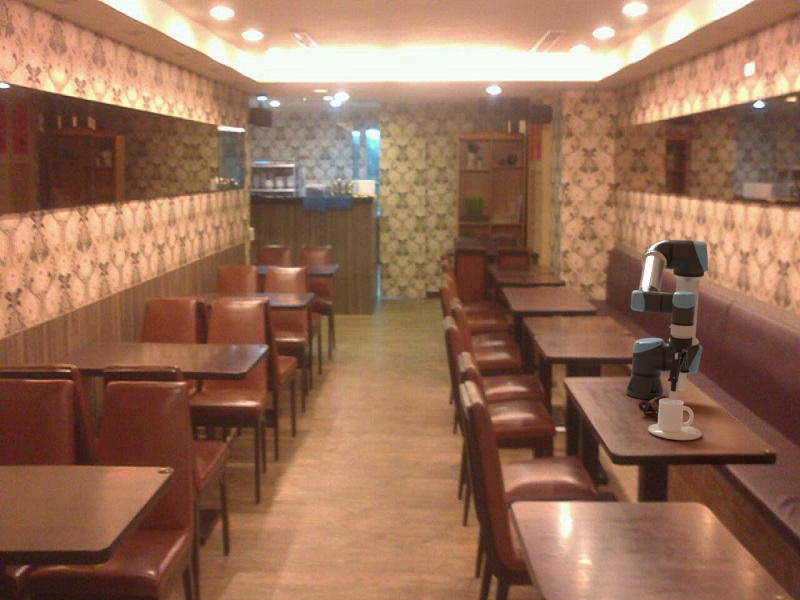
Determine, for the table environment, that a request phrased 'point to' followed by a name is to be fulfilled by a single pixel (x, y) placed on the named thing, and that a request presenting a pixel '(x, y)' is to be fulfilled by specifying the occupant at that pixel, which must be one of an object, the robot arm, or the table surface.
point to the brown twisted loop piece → (650, 406)
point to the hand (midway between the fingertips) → (677, 395)
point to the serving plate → (684, 434)
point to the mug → (672, 415)
